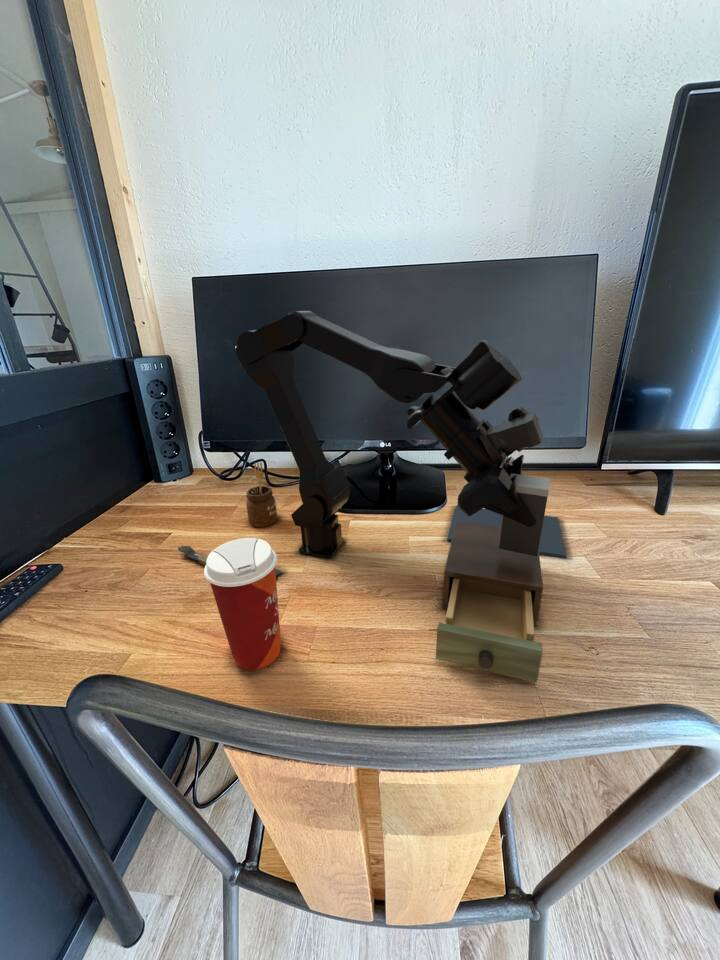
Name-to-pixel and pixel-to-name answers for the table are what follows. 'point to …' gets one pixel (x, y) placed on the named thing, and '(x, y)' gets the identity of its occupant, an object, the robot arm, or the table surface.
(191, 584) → the table surface
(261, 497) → the utensil holder
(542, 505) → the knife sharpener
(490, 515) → the mat
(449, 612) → the drawer
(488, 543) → the cabinet
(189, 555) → the tactical tomahawk
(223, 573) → the coffee cup
